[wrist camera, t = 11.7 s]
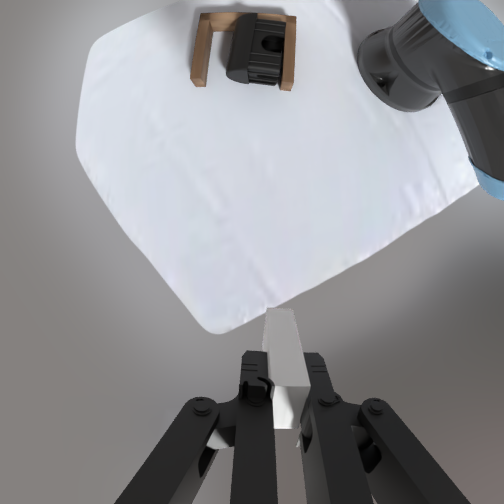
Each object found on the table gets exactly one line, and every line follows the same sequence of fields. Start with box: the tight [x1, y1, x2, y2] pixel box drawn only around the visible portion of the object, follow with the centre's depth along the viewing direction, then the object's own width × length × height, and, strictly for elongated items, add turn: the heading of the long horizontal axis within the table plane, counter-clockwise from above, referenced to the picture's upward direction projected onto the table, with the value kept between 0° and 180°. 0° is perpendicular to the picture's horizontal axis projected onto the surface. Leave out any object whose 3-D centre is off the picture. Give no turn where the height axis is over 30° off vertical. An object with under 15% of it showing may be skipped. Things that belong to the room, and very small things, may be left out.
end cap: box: [226, 13, 286, 86], centre depth 31 cm, size 10×7×7 cm
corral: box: [190, 12, 296, 91], centre depth 32 cm, size 14×12×4 cm
